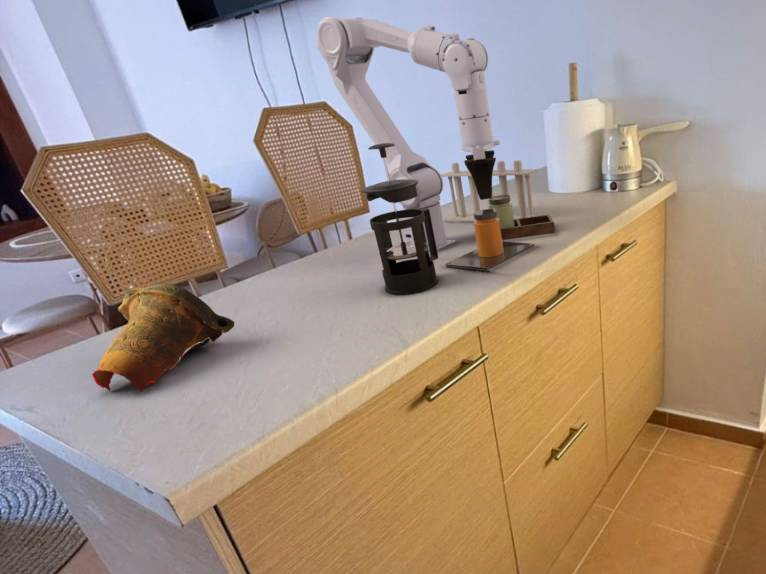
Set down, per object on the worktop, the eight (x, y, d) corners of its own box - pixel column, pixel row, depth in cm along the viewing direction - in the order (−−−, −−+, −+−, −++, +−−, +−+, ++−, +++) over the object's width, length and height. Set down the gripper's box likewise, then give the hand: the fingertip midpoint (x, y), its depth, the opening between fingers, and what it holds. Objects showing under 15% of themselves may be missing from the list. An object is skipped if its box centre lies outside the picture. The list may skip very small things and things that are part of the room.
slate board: (487, 272, 98) (487, 268, 97) (446, 267, 103) (445, 263, 103) (534, 247, 108) (534, 243, 107) (494, 244, 113) (494, 240, 113)
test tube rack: (447, 221, 137) (437, 165, 131) (458, 216, 140) (448, 161, 134) (532, 224, 124) (525, 162, 118) (542, 219, 127) (536, 158, 121)
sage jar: (506, 239, 114) (501, 200, 110) (488, 237, 117) (482, 199, 113) (520, 232, 117) (515, 194, 113) (501, 231, 120) (497, 194, 116)
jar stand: (487, 244, 114) (486, 231, 113) (486, 235, 120) (485, 223, 119) (555, 235, 114) (554, 221, 113) (550, 226, 120) (549, 214, 119)
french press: (405, 299, 90) (371, 149, 79) (371, 291, 96) (334, 150, 85) (456, 276, 98) (431, 136, 87) (421, 270, 104) (394, 138, 92)
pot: (24, 341, 67) (116, 253, 79) (67, 397, 76) (144, 310, 87) (163, 373, 67) (235, 280, 79) (190, 425, 76) (251, 335, 88)
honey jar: (493, 258, 102) (487, 215, 98) (473, 256, 105) (466, 214, 101) (508, 250, 105) (503, 208, 102) (488, 248, 108) (483, 208, 104)
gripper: (497, 116, 93) (508, 199, 100) (494, 112, 106) (504, 185, 112) (455, 122, 93) (469, 204, 100) (458, 117, 106) (470, 190, 112)
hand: (485, 195), depth 106 cm, fingers open, 7 cm apart
